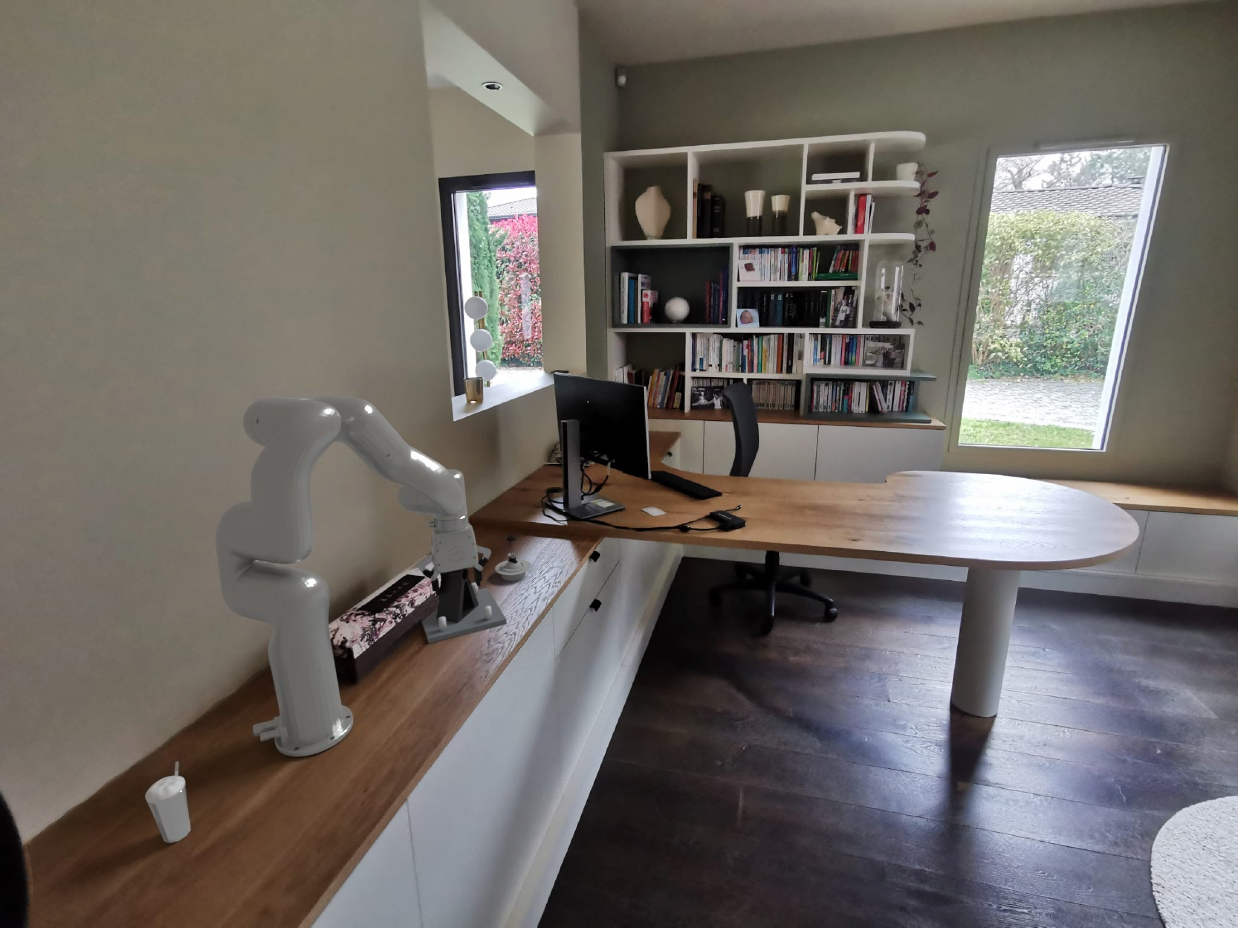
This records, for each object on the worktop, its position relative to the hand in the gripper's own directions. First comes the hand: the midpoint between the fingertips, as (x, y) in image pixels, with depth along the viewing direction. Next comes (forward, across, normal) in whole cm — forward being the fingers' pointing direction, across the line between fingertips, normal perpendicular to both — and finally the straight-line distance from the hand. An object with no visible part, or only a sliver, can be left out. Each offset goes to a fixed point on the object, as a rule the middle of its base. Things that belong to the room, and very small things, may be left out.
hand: (457, 588), depth 144 cm
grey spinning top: (+8, +18, +15) cm, 25 cm away
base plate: (+7, 0, 0) cm, 7 cm away
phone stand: (+6, 0, 0) cm, 6 cm away
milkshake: (+7, -50, -43) cm, 66 cm away
